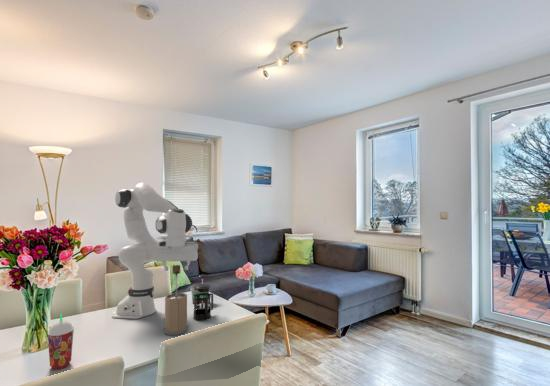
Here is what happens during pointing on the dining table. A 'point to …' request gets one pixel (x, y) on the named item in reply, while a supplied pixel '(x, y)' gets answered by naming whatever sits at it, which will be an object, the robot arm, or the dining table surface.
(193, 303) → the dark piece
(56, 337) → the smoothie
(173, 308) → the kraft paper canister
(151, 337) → the dining table surface
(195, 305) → the french press
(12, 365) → the dining table surface
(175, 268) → the plunger
